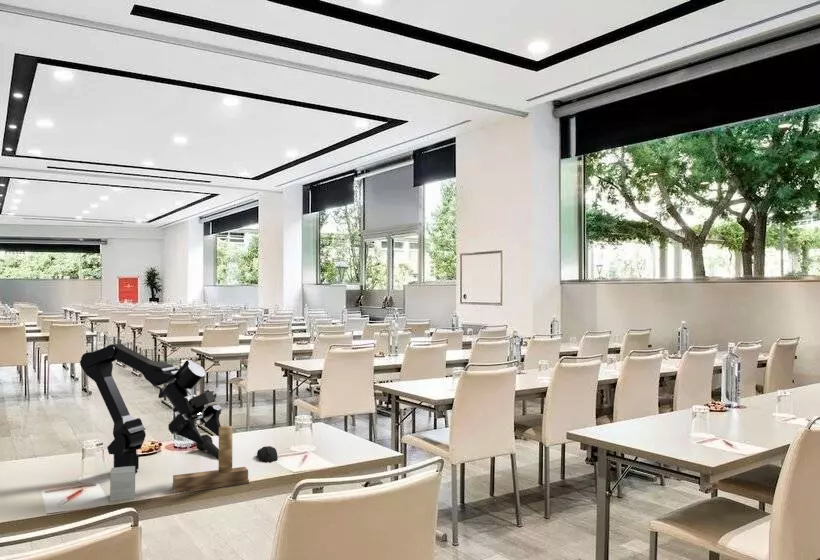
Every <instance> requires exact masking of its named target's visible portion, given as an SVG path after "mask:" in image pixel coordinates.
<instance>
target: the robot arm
mask: <svg viewBox="0 0 820 560" xmlns="http://www.w3.org/2000/svg"><path fill="white" fill-rule="evenodd" d="M115 361H118V362H120V363H122V364H124V365H125V366H128V367H130V368H131V369H133V370H136V371H138V372H139V373H141V375H143V377H144V379H145V380H146V381H147V382H149V383H150V384H151V385H152V386H155V387H156V386H157V387H158V386H163V385H166V386H165V387H163V388H159V392H158V399H163V398H167V399H168V401H169V402H170V403H171V405H172V406H173V407H174V408H172V412H174V413H177V412H178V414H177V415H176V416H175V417H174V418H173V419H172V420H171V421H170V422H169V423H168V428H167V429H168V431H169V432H170V433H171V435H174V434H175V436H180V437H182V438H185V439H188V440H190V441H192V442H194V443H195V444H196V443H198V444H200V445H203V444H204V443H205V442H204V440H203V438H202V437H201V436H202V435H201V433H200V432H199V431H198V429H197V427H196V423H195V422H197V421H200V422H201V423H203V427H205V428H206V429H208V430H210V432H212V433H213V434H214V435H216V436H217V437H218V438H219V427H221V426H222V425H221V423H220V415H221V413H222V411H223V408H222V406H221V405H220V404H219V403H214V402H216V399H217V395H218V394H217V393H216V392H215V391H214V390H213V388H208V389H207V390H204V392H203V393H201V394H198V395H197V394H191V392H190V391H189V390H192V389H194V387H196V385H198V383H199V382H200V381H201V380H202V379H203V378H204V377H205V375H206V370H205V368H204V367H203V366H201V365H200V364H198V363H197V362H194V361H193V360H192V359H187V360H185V361H184V362H183V364H182V366H181V367H180V368H176V367H175V366H174V365H173V364H171V363H168V362H163V361H157V360H152V359H150V358H148V357H147V356H144V355H143V354H141V353H139V352H137V351H135V350H133V349H131V348H129V347H127V346H126V345H125V344H123V343H121V342H120V343H113V344H109V345H107V346H104V347H103V348H100V349H97V350H94V351H88V352H85V353H83V354H82V356H81V358H80V360H79V365H80V368H81V369H82V370H83V372H84V374H85V376H87V377H88V378H90V379H91V380H92V381H94V382H95V385H96V386H97V389H98V391H99V393H100V395H101V397H102V400H103V402H104V404H105V406H106V409H107V411H108V413H109V415H110V417H111V419H112V421H113V429H112V436H113V438H114V439H113V440H112V441H111V442H110V444H109V445H108V446H107V452H108V455H113V465H112V466H113V467H112V468H117V467H128V466H135V474H137V473H138V470H139V466H140V465H139V461H140V460H139V458H140V457H139V456H140V455H139V453H137V450H141V449H142V447H143V443H144V442H145V439H146V436H147V434H146V430H147V429H146V428H145V427H144V424H143V421H142V420H141V418H140V417H137V418H134V417H132V415H131V414H130V412H129V409H128V407H127V405H126V403H125V401H124V399H123V397H122V394H121V392H120V390H119V387H118V385H117V383H116V382H115V379H114V377H113V368H114V367H113V366H114V365H113V362H115ZM211 403H213V404H211ZM209 404H210V405H209ZM207 405H208V406H207Z"/></svg>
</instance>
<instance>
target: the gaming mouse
mask: <svg viewBox="0 0 820 560" xmlns="http://www.w3.org/2000/svg"><path fill="white" fill-rule="evenodd" d="M256 457H257V459H258V458H259V459H258V460H259V462H261V461H262V463H269V464H270V463H271V464H272V462H273V461H274V462H277V461H278V452H277V449H276V448H275V447H273V446H269V445H268V446H267V445H266V446H262V447H261V448H260V449H258V450H257V453H256Z"/></svg>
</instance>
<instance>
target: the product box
mask: <svg viewBox="0 0 820 560" xmlns="http://www.w3.org/2000/svg"><path fill="white" fill-rule="evenodd" d="M110 469H111V470H110V473H109V479H110V480H109V481H110V483H109V487H110V488H109V489H110V490H109V501H110V502H116V500H117V501H124V500H126V499H127V500H134V499H135V497H136V473H135V466H128V467H117V468H113V467H111V468H110Z"/></svg>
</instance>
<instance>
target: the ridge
mask: <svg viewBox="0 0 820 560" xmlns="http://www.w3.org/2000/svg"><path fill="white" fill-rule="evenodd" d="M249 483H250V479H249V469H248V468H247V467H246V466H240V467H232V471H231V472H227V473H221V472H219V469H216V470H215V469H214V470H207V471H198V472H189V473H182V474H181V473H179V474H173V475H172V488H174V489H173V490H175V491H174V493H175V492H179V493H184V491H186V492H192V491H193V492H194V491H199V490H206V489H207V490H208V489H216V488H221V487H224V488H225V487H230V486H238V485H244V484H245V485H246V484H249Z"/></svg>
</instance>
